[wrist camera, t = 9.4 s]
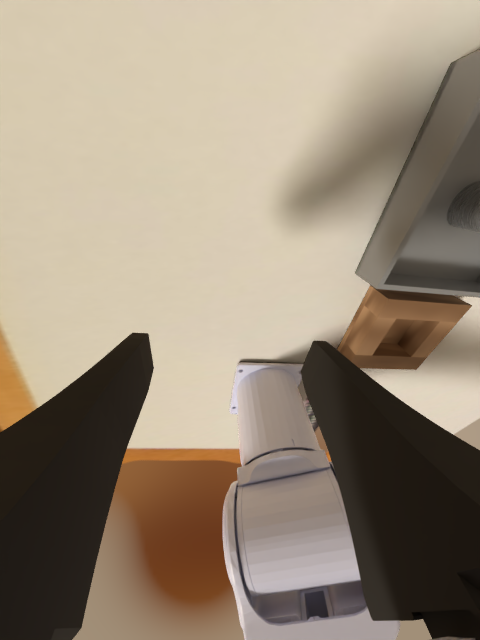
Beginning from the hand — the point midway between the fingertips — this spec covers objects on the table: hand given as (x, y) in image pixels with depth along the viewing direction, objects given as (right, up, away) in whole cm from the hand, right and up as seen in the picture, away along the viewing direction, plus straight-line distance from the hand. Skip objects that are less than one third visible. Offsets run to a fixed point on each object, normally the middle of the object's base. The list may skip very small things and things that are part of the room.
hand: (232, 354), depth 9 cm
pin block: (+16, +1, +12) cm, 20 cm away
